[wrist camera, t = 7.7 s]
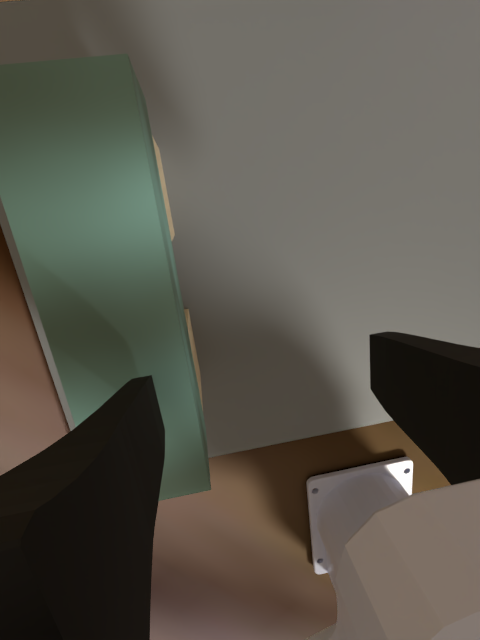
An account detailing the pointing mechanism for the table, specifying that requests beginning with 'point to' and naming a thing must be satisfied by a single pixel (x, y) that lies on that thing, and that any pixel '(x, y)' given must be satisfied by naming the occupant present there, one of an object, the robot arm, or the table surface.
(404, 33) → the board
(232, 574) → the table surface
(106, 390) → the beam
